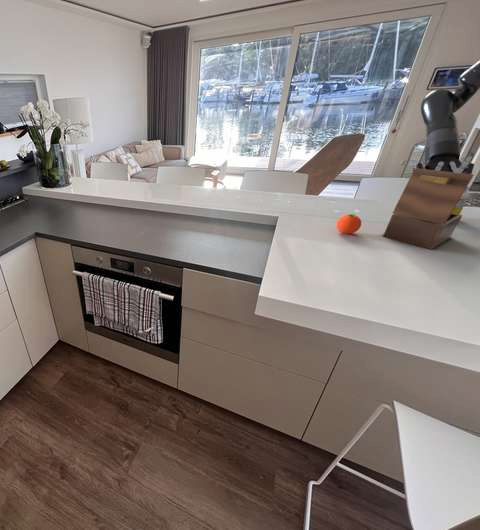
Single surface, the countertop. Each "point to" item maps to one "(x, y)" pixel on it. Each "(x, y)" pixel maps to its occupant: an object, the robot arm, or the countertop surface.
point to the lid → (432, 195)
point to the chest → (421, 230)
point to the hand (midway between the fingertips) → (443, 194)
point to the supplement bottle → (461, 201)
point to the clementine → (348, 223)
